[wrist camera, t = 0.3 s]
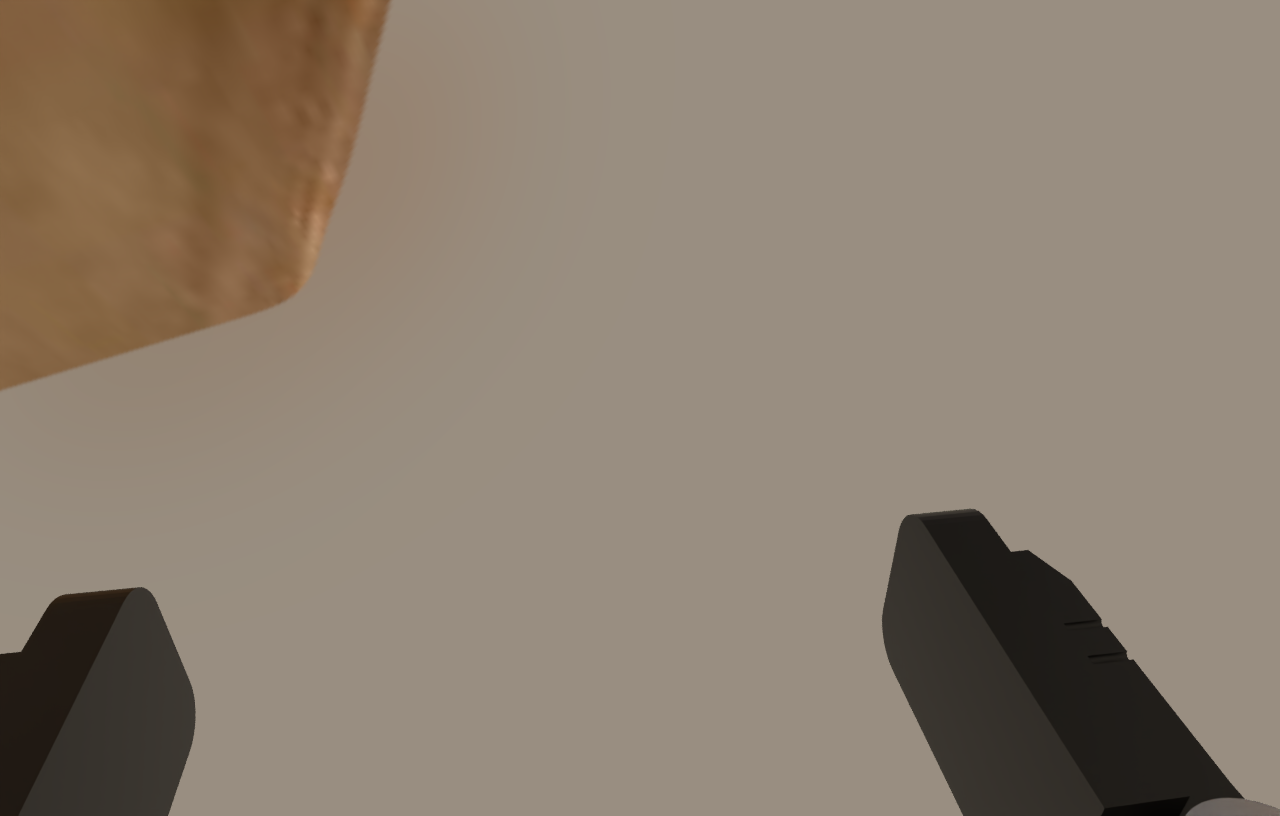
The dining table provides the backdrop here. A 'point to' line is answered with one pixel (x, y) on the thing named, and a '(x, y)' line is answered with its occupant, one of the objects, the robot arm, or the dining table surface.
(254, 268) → the dining table surface
